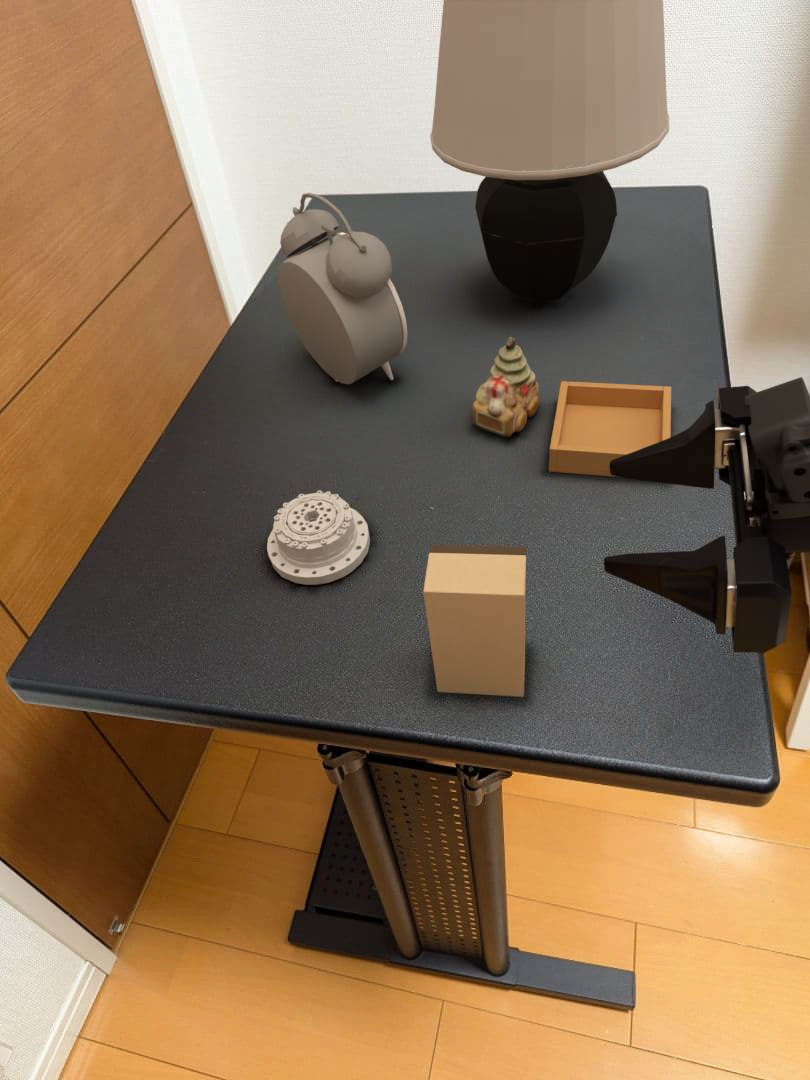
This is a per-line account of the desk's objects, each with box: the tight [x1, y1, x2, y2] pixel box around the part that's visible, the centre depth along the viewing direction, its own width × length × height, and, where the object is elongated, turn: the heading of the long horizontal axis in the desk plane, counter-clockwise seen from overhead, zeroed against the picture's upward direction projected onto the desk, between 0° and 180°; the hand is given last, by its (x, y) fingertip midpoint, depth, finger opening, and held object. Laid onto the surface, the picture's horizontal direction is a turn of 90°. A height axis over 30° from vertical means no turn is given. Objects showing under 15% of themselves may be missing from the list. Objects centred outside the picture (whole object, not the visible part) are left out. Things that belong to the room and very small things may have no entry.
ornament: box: [471, 336, 540, 438], centre depth 83 cm, size 8×6×10 cm
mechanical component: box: [266, 490, 371, 586], centre depth 74 cm, size 10×4×10 cm
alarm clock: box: [277, 192, 409, 385], centre depth 88 cm, size 16×9×22 cm, turn 37°
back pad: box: [422, 544, 527, 698], centre depth 59 cm, size 4×7×13 cm, turn 82°
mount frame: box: [548, 380, 672, 478], centre depth 81 cm, size 12×12×3 cm
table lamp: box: [429, 0, 670, 304], centre depth 89 cm, size 27×27×40 cm
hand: (607, 513), depth 52 cm, fingers open, 9 cm apart
